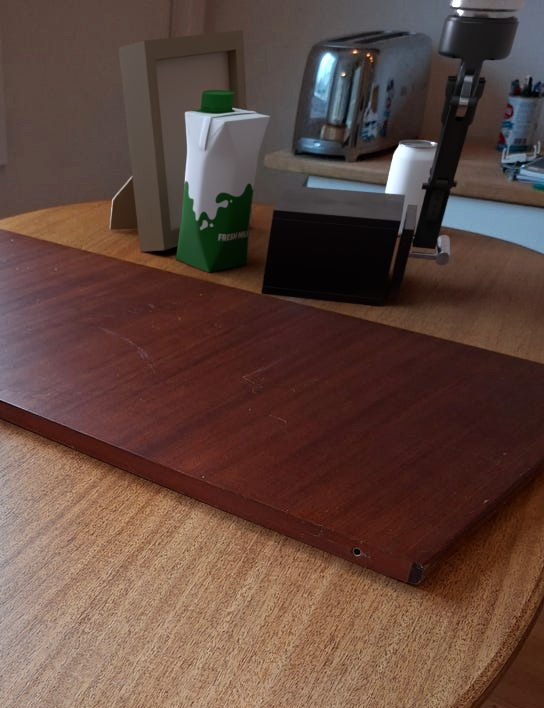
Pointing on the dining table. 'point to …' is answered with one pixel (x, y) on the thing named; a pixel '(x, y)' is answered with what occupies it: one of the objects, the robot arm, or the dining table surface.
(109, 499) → the dining table surface
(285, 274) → the cabinet
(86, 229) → the dining table surface
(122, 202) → the photo frame
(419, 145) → the can
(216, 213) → the milk carton
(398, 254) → the drawer
